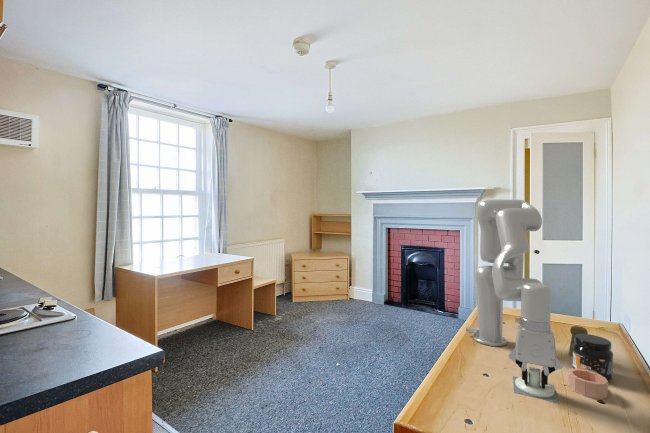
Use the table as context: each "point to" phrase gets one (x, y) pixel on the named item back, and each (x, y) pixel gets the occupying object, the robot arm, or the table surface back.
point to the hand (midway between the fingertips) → (534, 383)
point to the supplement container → (593, 354)
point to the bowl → (587, 383)
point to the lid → (534, 385)
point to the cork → (574, 331)
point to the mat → (516, 390)
